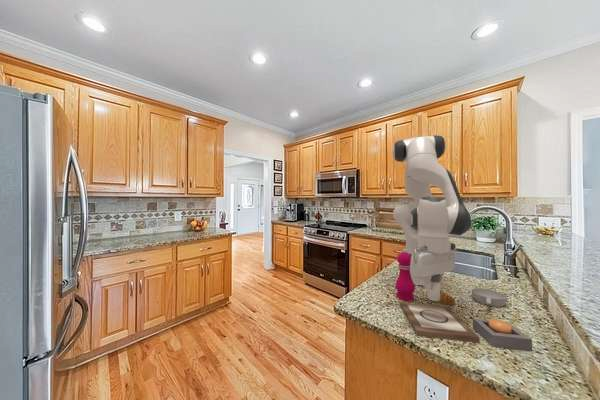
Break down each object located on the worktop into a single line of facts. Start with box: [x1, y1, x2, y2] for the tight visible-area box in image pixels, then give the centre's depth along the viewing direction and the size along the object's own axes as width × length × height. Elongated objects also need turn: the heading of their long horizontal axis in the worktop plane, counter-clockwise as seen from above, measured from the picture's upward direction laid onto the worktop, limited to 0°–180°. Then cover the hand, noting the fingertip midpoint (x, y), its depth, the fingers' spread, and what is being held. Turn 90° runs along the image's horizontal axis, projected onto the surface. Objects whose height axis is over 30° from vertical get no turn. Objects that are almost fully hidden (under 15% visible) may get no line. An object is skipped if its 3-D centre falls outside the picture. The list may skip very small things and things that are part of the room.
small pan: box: [471, 287, 508, 308], centre depth 83 cm, size 11×18×4 cm, turn 139°
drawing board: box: [399, 301, 481, 344], centre depth 71 cm, size 19×16×2 cm
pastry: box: [425, 290, 456, 305], centre depth 87 cm, size 9×7×4 cm
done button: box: [488, 318, 512, 334], centre depth 62 cm, size 5×5×2 cm
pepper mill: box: [395, 248, 416, 302], centre depth 89 cm, size 7×7×20 cm
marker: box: [426, 274, 441, 302], centre depth 71 cm, size 4×4×8 cm
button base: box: [472, 317, 533, 352], centre depth 62 cm, size 9×9×3 cm
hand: (433, 287), depth 71 cm, fingers closed on marker, 4 cm apart
